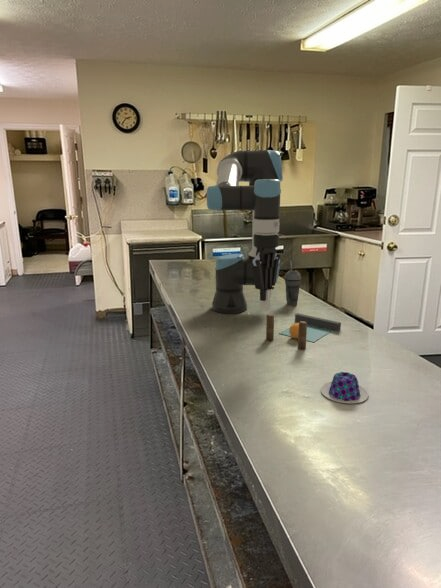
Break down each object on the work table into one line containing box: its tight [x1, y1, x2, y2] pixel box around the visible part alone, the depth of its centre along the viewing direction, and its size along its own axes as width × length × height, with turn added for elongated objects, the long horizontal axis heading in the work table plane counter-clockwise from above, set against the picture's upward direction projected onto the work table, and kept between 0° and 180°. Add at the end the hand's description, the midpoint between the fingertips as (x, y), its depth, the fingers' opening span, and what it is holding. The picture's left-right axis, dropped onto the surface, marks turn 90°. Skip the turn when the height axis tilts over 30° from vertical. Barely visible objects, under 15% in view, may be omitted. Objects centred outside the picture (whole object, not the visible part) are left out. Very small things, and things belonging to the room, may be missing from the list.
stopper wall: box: [294, 313, 342, 333], centre depth 164 cm, size 18×2×3 cm, turn 51°
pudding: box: [320, 371, 369, 404], centre depth 113 cm, size 12×12×5 cm
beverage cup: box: [284, 259, 302, 307], centre depth 189 cm, size 7×7×20 cm
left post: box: [265, 313, 275, 342], centre depth 150 cm, size 3×3×9 cm
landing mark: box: [278, 325, 332, 343], centre depth 157 cm, size 14×14×1 cm
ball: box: [289, 322, 299, 340], centre depth 151 cm, size 6×6×6 cm
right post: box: [297, 321, 307, 351], centre depth 142 cm, size 3×3×9 cm
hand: (264, 309), depth 133 cm, fingers closed
